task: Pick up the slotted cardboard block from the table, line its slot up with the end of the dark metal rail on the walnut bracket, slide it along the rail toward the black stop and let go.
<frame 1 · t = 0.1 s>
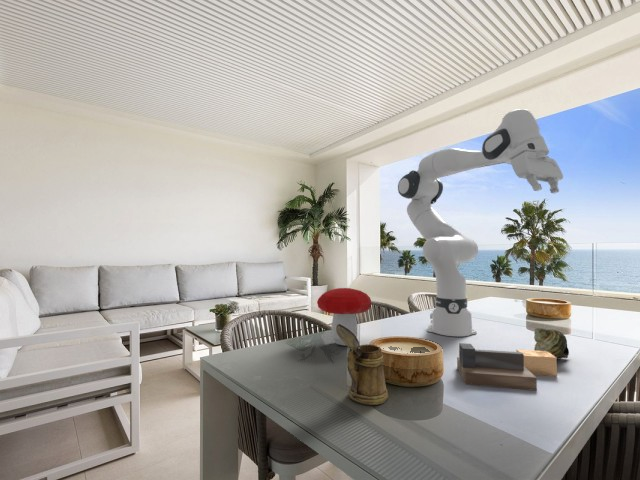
hand: (547, 191, 104), 52 cm above the table, tool tilted 20°, fingers open, 8 cm apart
mushroom: (344, 345, 119), on the table
wooden mug: (361, 400, 76), on the table
slotted cardboard block: (535, 371, 94), on the table
seashell: (554, 361, 102), on the table
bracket: (493, 378, 89), on the table
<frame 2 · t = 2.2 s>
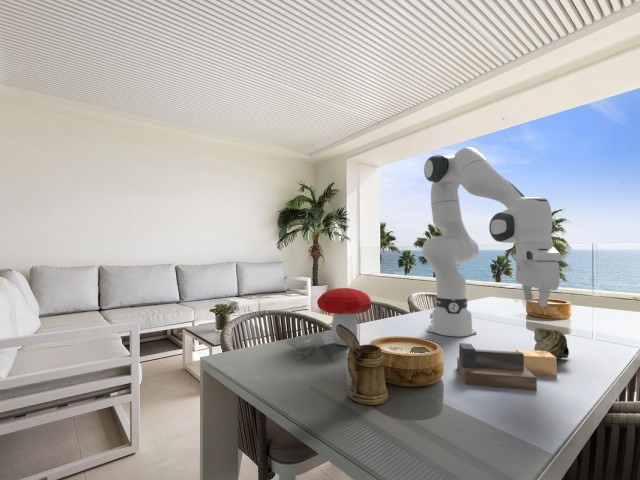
hand: (535, 303, 94), 19 cm above the table, tool pointing down, fingers open, 8 cm apart
nothing on the table moved.
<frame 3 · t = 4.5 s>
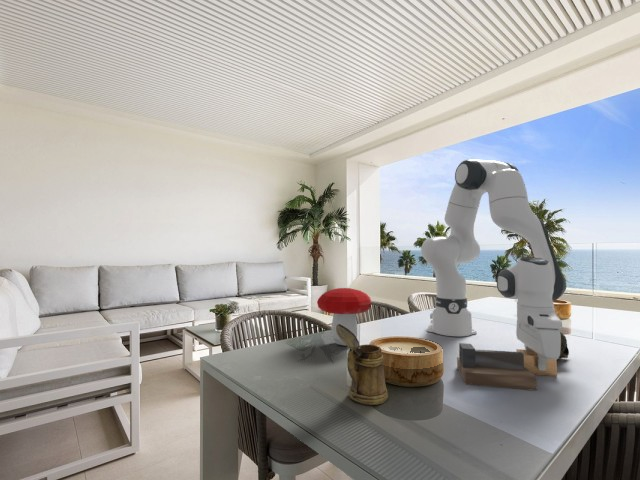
hand: (535, 365, 94), 2 cm above the table, tool pointing down, fingers closed on slotted cardboard block, 6 cm apart
slotted cardboard block: (536, 371, 94), on the table, touching gripper
everything else where it was.
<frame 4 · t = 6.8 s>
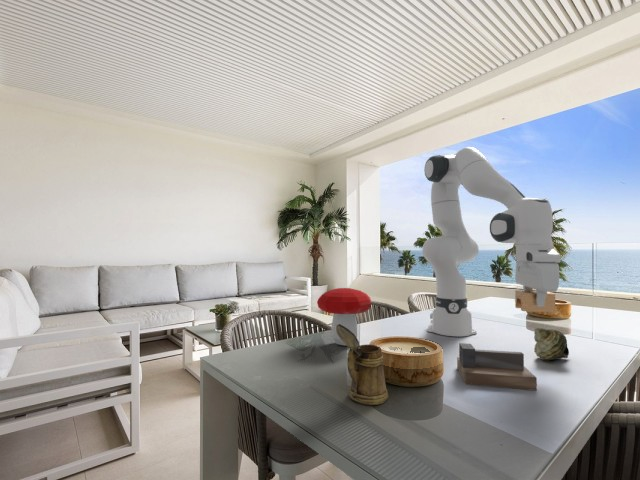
hand: (534, 303, 94), 19 cm above the table, tool pointing down, fingers closed on slotted cardboard block, 6 cm apart
slotted cardboard block: (534, 309, 94), point 17 cm above the table, touching gripper
everything else where it was.
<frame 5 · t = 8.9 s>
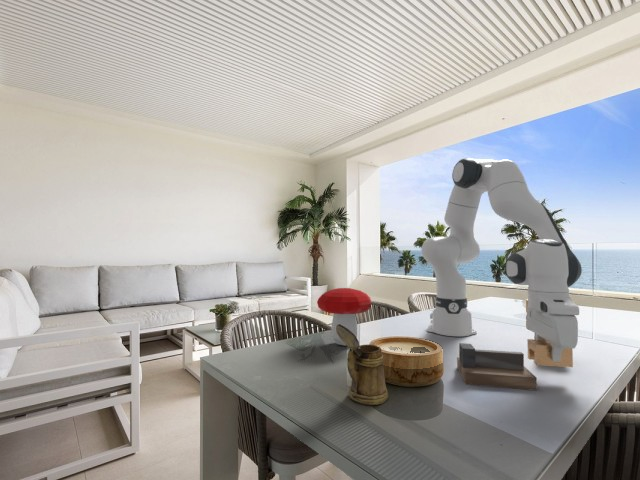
hand: (549, 356, 86), 7 cm above the table, tool pointing down, fingers closed on slotted cardboard block, 6 cm apart
slotted cardboard block: (549, 362, 86), point 5 cm above the table, touching gripper
everything else where it was.
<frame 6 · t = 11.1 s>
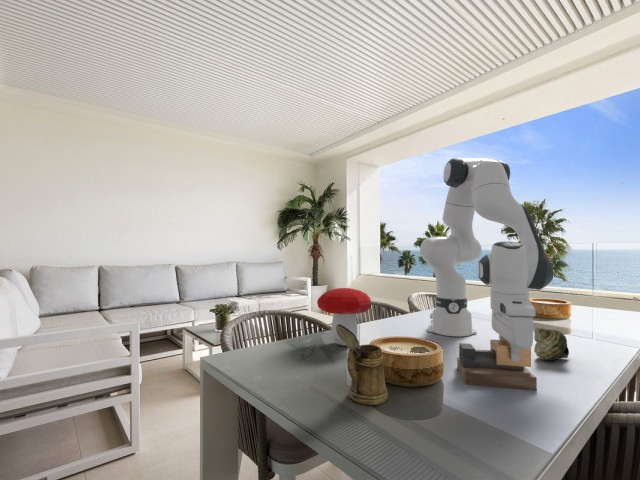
hand: (509, 356, 88), 6 cm above the table, tool pointing down, fingers closed on slotted cardboard block, 6 cm apart
slotted cardboard block: (510, 362, 88), point 4 cm above the table, touching gripper
everything else where it was.
when the fingers open (6 cm above the table, at t = 13.2 s): slotted cardboard block stays where it is, resting on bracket.
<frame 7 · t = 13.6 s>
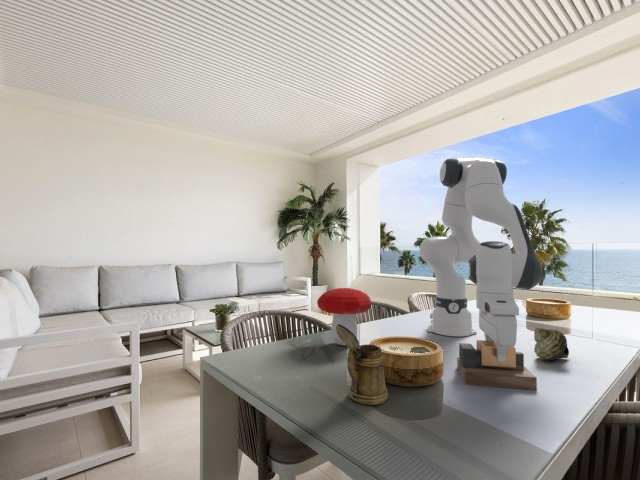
hand: (495, 354, 89), 6 cm above the table, tool pointing down, fingers open, 8 cm apart
slotted cardboard block: (495, 362, 89), point 4 cm above the table, touching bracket
everything else where it was.
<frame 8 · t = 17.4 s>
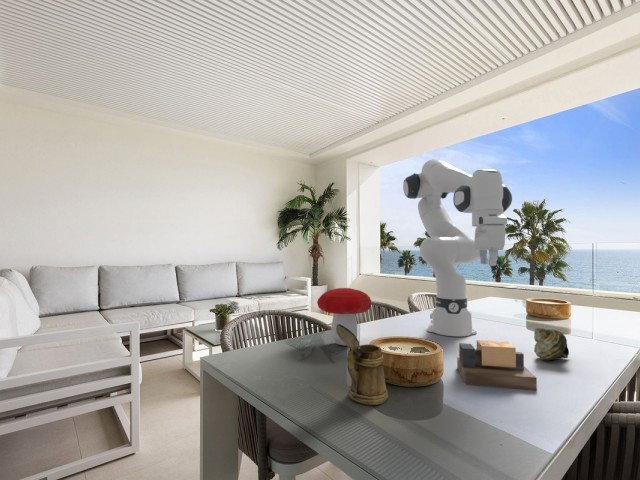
hand: (488, 264, 104), 29 cm above the table, tool pointing down, fingers open, 8 cm apart
nothing on the table moved.
at the end: slotted cardboard block 0.1 cm off-centre on the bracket, point 4.0 cm above the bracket's base; the gripper is holding nothing; slotted cardboard block tilted 0° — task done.
